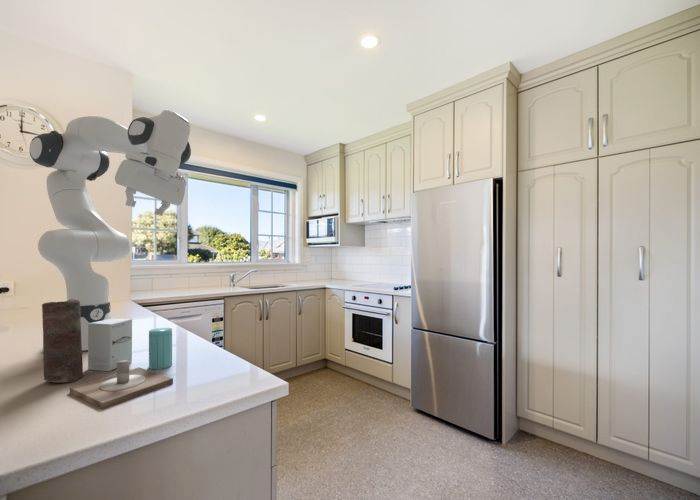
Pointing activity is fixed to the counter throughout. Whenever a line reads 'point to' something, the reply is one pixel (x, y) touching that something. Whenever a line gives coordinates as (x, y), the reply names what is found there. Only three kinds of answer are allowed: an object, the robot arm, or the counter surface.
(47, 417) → the counter surface
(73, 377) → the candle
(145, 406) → the counter surface
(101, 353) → the supplement box
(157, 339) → the teal lidded canister
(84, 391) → the mount plate
